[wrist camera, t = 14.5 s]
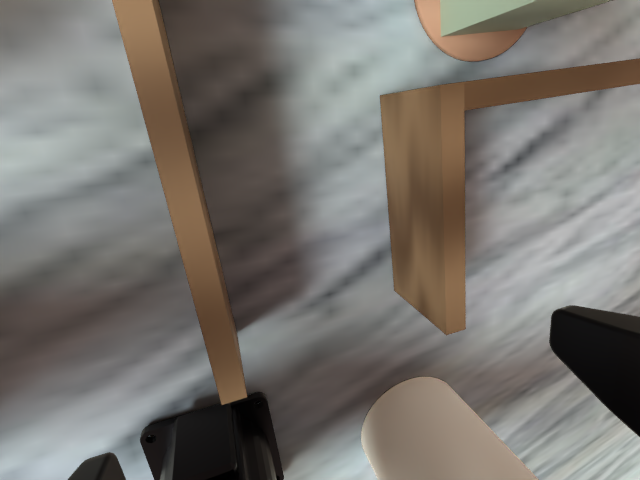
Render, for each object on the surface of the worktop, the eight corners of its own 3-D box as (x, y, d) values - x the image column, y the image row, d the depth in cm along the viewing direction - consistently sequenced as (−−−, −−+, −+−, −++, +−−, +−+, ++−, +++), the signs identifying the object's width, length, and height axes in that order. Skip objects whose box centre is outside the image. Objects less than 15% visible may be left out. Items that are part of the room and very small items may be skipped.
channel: (543, 250, 24) (624, 279, 19) (217, 338, 19) (221, 405, 15) (571, -164, 17) (704, -269, 13) (81, -188, 12) (11, -371, 8)
